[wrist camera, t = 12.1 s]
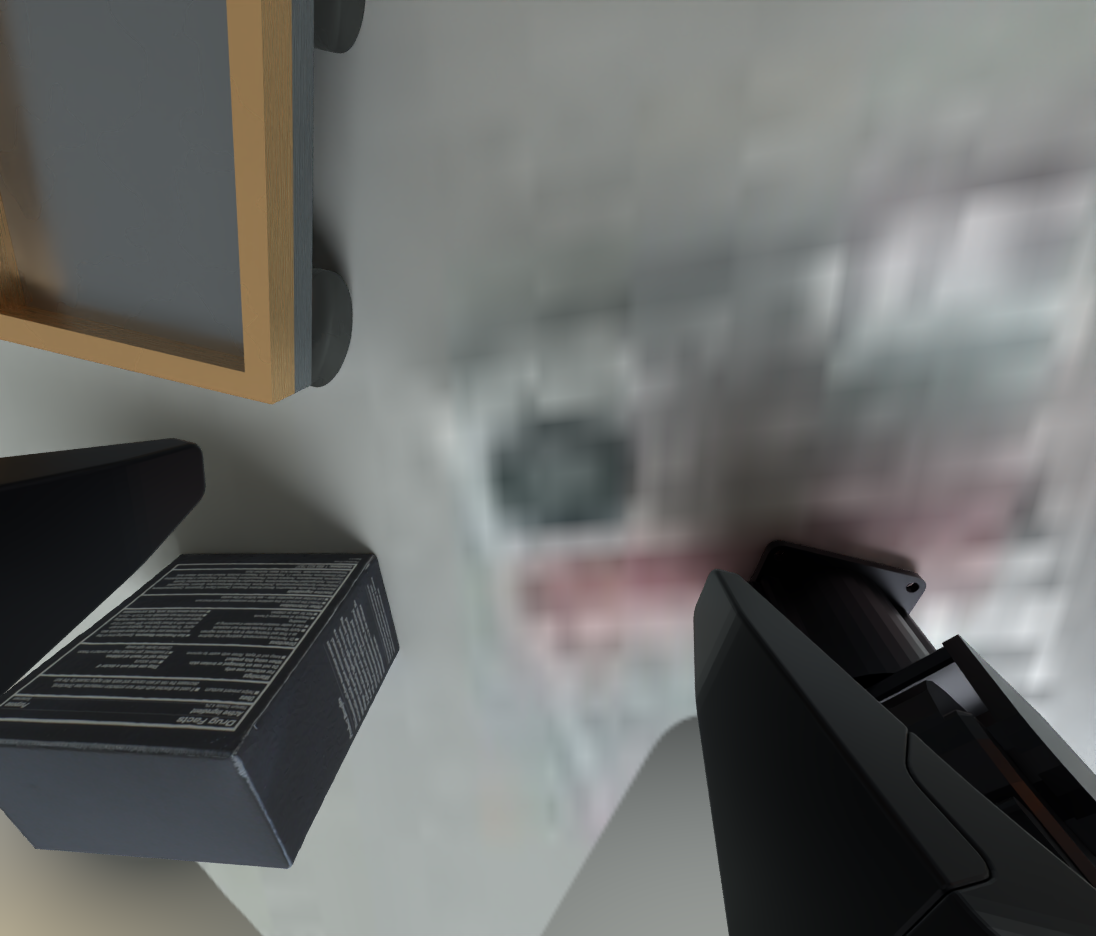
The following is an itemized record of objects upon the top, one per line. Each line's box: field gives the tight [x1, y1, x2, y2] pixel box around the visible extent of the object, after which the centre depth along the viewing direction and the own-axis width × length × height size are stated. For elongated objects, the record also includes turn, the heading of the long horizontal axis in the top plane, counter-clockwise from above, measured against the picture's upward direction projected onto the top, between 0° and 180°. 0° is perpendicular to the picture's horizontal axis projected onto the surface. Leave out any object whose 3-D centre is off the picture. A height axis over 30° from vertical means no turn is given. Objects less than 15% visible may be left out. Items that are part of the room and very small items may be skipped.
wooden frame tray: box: [0, 0, 365, 404], centre depth 15 cm, size 10×14×6 cm
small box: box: [0, 554, 399, 869], centre depth 22 cm, size 11×6×10 cm, turn 95°
